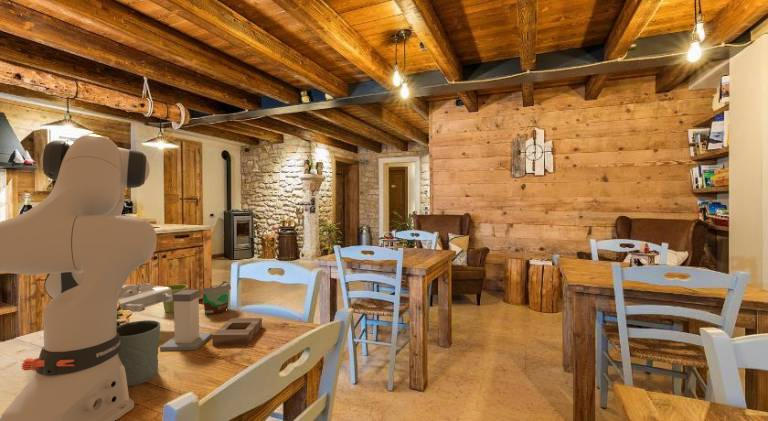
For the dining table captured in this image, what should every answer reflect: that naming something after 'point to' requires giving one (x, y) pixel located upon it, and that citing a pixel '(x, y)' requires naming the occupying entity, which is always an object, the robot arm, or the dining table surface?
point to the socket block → (237, 331)
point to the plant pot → (175, 288)
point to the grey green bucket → (139, 350)
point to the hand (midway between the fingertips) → (157, 303)
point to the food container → (216, 298)
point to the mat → (186, 346)
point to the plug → (186, 315)
